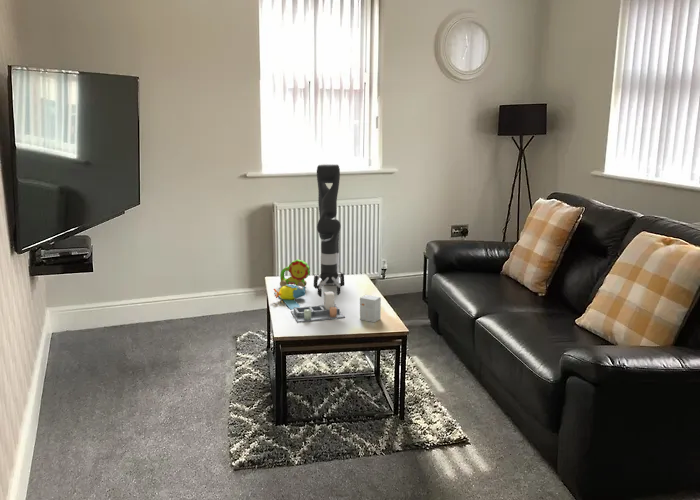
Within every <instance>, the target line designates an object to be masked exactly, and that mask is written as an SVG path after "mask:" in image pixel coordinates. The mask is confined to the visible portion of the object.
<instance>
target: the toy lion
mask: <svg viewBox="0 0 700 500" xmlns="http://www.w3.org/2000/svg"><path fill="white" fill-rule="evenodd" d="M310 269H311V268H310V266H309V263H307V262H306V261H304V260H303V259H301V260H300V259H299V258H298V259H296V260H292V262H290V263H289V264H288V266H285V267H284V268H283V269H282V270H281V272H280V276H279V277H280V282H279V286H280V288H282V287H283V286H286V285H287V284H288V285H290V284H292V285H295V286H302V287H304V288H305V287H306V286H307V281H306V280H305V279H307V278H308V277H309V275H310ZM286 272H289V274H290V276H289V277H288V278H286V277H285V273H286Z"/></svg>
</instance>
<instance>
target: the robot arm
mask: <svg viewBox="0 0 700 500" xmlns="http://www.w3.org/2000/svg"><path fill="white" fill-rule="evenodd" d="M340 178H341V170H340V166H339V164H337V163H319V164H318V165H317V167H316V181H317V189H318V190H317V192H318V197H317V198H318V202H317V203H318V204H317V205H318V215H319V217H318V218H319V219H318V222H317V225H316V230H317V232H318V235H319V238H320V240H322V241H321V242H320V243H321V245H320V249H321V250H320V251H321V252H320V253H321V254H320V274H314V275H313V287H314V288H315V289H317V295H318V296H319V297H320V298H322V291H323V290H322V288H323V286H335V285H336V295H337V296H339V295H340V294H341V288H342V287H344V286H345V274H344V273H343V272H340V231H341V228H342V227H341V226H342V225H341V222H340V220H339V219H335V218H336V216H337V213H338V212H337V205H338V204H337V203H338V193H339V188H340V180H341V179H340ZM327 184H332V185H331V186H330V188H329V187H328V186H327ZM319 280H320V281H319ZM318 281H319V282H318Z"/></svg>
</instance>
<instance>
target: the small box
mask: <svg viewBox="0 0 700 500" xmlns="http://www.w3.org/2000/svg"><path fill="white" fill-rule="evenodd" d="M381 298H382V297H381V296H377V295H370V294H365V295H363V296H361V297H359V320H362V321H365V322H366V321H368V322H372V323H376V322H378V321H380V319H381V315H382V314H381V313H382V312H381V309H382V308H381V307H382V306H381V304H382V303H381V300H382V299H381Z"/></svg>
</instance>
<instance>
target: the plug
mask: <svg viewBox="0 0 700 500" xmlns="http://www.w3.org/2000/svg"><path fill="white" fill-rule="evenodd" d="M334 304H335V292H333V291H332V290H331V291H324V292H323V305H324V310H329V309H330V307H334Z"/></svg>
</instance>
